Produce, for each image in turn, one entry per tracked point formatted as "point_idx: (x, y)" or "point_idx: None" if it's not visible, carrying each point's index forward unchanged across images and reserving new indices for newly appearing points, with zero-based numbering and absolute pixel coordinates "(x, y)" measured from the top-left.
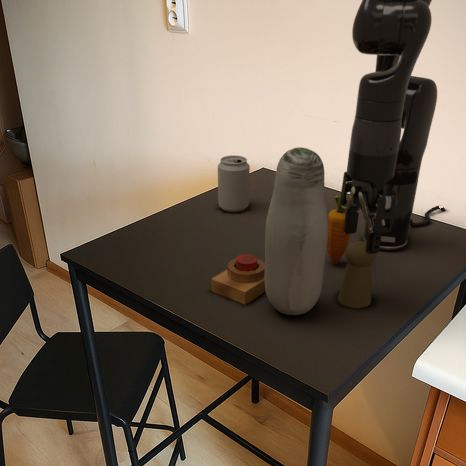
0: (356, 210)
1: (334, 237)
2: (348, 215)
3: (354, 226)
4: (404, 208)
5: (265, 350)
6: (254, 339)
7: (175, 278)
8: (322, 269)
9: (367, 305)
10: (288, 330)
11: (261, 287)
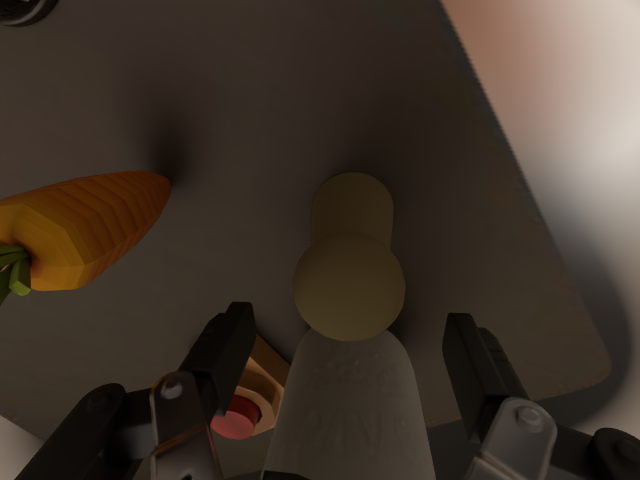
0: (201, 393)
1: (133, 241)
2: (225, 406)
3: (240, 328)
4: None
5: (457, 405)
6: (421, 407)
7: (212, 434)
8: (413, 413)
9: (391, 197)
10: (417, 363)
11: (281, 371)
